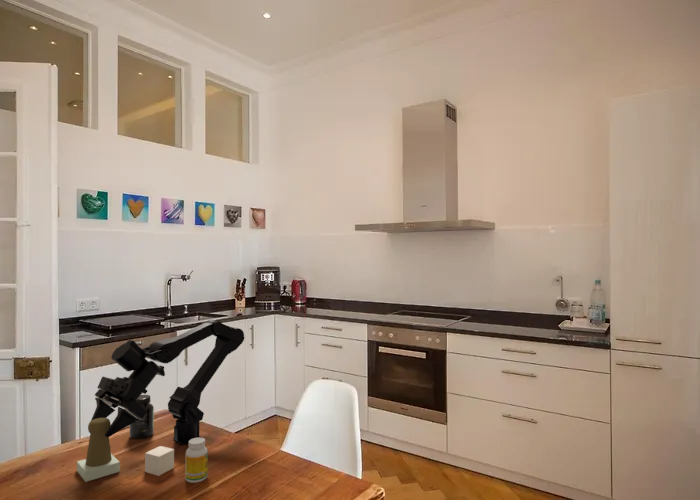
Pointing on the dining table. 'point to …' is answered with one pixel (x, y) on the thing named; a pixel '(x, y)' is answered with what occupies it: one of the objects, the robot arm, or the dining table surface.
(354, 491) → the dining table surface
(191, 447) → the supplement bottle
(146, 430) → the supplement bottle
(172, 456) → the brick
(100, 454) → the cork
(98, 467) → the base brick
